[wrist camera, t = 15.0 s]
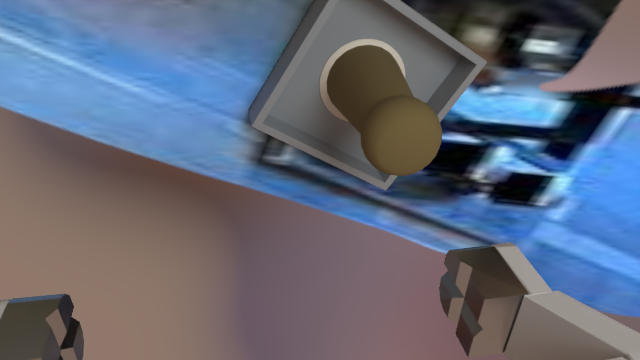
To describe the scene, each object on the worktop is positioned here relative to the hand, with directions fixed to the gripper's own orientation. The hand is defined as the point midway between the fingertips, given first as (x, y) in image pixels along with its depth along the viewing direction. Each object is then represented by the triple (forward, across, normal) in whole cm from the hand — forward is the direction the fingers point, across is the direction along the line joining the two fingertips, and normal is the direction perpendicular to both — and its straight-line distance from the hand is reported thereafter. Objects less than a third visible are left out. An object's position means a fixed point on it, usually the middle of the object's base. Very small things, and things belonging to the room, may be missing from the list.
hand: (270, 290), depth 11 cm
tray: (+29, -10, +7) cm, 31 cm away
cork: (+28, -10, +7) cm, 31 cm away
